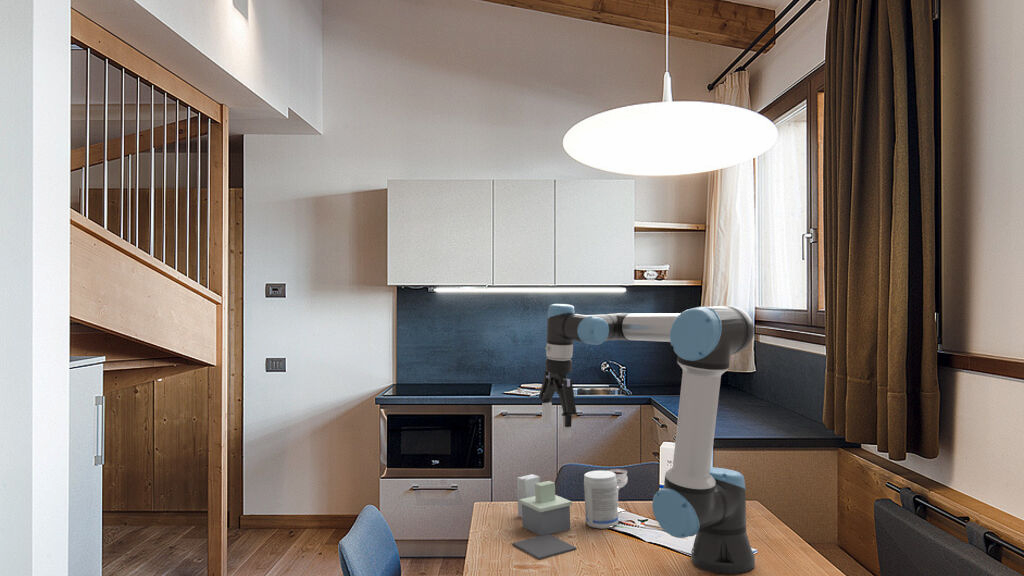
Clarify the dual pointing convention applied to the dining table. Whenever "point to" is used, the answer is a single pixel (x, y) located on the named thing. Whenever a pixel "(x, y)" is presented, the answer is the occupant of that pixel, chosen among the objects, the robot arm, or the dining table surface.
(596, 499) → the supplement tub
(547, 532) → the storage box
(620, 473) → the wineglass
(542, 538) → the mat
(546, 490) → the lid
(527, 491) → the skincare box
